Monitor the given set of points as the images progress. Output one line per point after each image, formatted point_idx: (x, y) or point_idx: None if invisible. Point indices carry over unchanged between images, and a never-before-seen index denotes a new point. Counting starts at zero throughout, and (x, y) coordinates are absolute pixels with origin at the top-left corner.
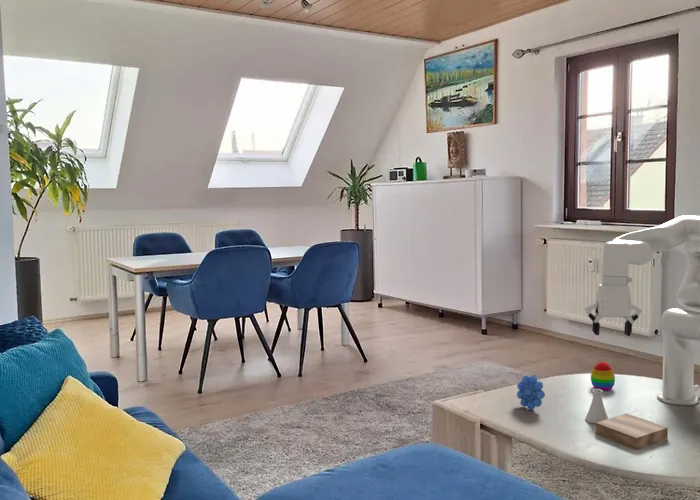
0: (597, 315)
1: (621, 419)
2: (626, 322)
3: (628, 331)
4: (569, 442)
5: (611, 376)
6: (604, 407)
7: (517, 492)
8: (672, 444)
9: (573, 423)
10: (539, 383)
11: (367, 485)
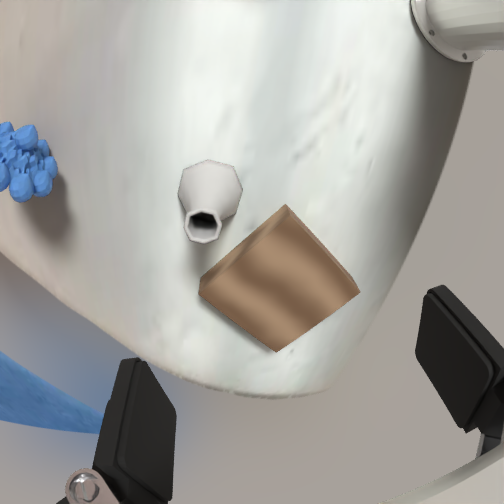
0: None
1: (266, 264)
2: (489, 389)
3: (432, 380)
4: (148, 324)
5: None
6: (229, 203)
7: None
8: None
9: (148, 222)
10: (18, 201)
11: (5, 413)
